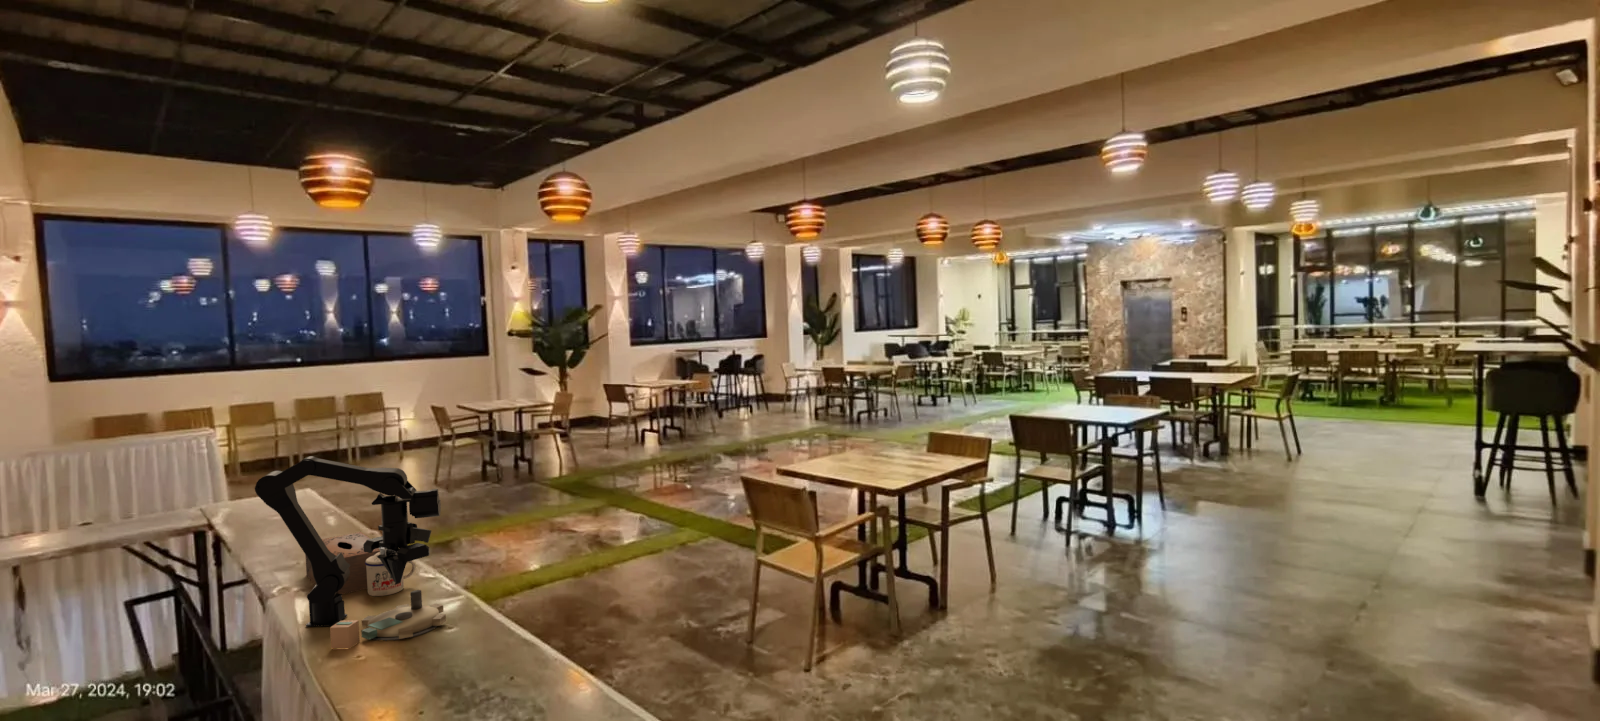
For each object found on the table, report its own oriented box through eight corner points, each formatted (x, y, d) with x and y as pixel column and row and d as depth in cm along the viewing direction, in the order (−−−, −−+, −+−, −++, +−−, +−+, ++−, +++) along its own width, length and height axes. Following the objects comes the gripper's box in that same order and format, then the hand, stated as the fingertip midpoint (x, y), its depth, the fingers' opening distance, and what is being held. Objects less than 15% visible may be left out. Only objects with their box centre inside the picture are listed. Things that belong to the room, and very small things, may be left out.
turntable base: (350, 641, 175) (350, 639, 175) (389, 614, 191) (389, 612, 191) (421, 640, 175) (420, 638, 175) (453, 613, 191) (453, 611, 191)
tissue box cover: (388, 584, 214) (386, 548, 214) (329, 598, 204) (326, 561, 204) (362, 564, 233) (360, 531, 232) (306, 576, 223) (304, 542, 223)
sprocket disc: (343, 640, 174) (341, 615, 174) (385, 610, 192) (384, 588, 192) (424, 638, 174) (423, 614, 174) (459, 609, 192) (458, 587, 191)
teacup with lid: (369, 599, 202) (367, 555, 201) (364, 590, 209) (361, 547, 209) (419, 589, 209) (417, 546, 209) (412, 580, 216) (410, 539, 216)
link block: (331, 649, 171) (330, 626, 171) (342, 642, 175) (340, 619, 175) (349, 649, 171) (347, 626, 171) (359, 641, 175) (358, 619, 175)
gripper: (447, 517, 194) (450, 578, 194) (403, 509, 203) (405, 567, 204) (405, 527, 184) (408, 592, 185) (360, 518, 193) (363, 580, 194)
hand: (397, 582), depth 192 cm, fingers closed
